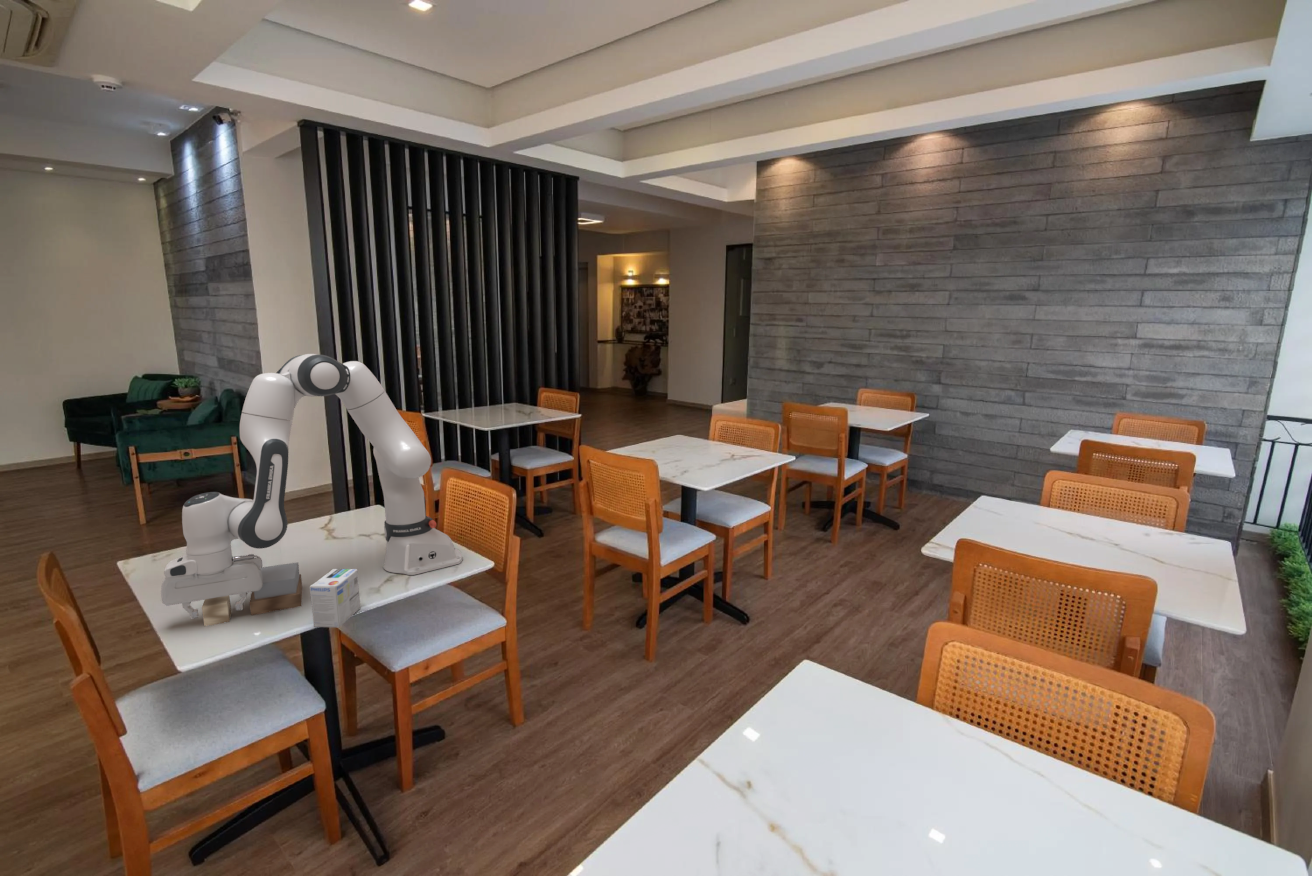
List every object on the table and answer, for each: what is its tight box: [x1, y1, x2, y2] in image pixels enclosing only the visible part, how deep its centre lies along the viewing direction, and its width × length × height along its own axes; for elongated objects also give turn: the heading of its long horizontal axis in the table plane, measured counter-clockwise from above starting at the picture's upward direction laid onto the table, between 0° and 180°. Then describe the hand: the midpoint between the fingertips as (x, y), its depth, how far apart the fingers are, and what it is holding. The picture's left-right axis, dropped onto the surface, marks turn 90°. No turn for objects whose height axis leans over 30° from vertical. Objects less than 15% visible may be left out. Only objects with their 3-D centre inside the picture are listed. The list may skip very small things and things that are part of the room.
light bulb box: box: [309, 568, 361, 628], centre depth 155 cm, size 11×7×11 cm, turn 178°
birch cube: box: [201, 595, 232, 627], centre depth 154 cm, size 5×5×5 cm
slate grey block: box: [254, 561, 301, 599], centre depth 164 cm, size 9×12×4 cm
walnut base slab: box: [248, 573, 303, 616], centre depth 165 cm, size 11×14×4 cm
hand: (217, 613), depth 154 cm, fingers open, 8 cm apart
